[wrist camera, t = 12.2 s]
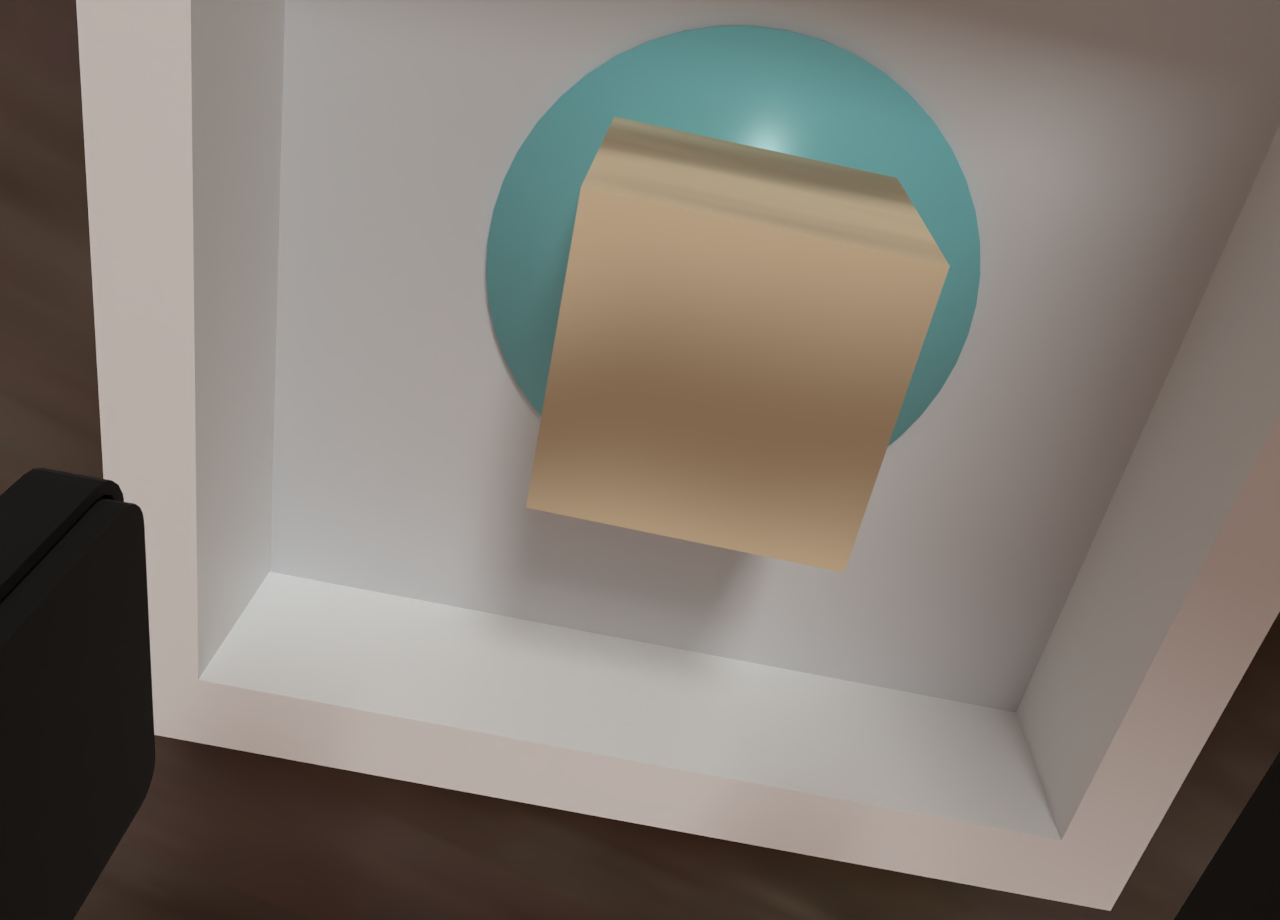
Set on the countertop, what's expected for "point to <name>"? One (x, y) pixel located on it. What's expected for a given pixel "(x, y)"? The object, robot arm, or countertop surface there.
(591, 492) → the maple block
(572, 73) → the shallow white dish
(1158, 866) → the countertop surface
